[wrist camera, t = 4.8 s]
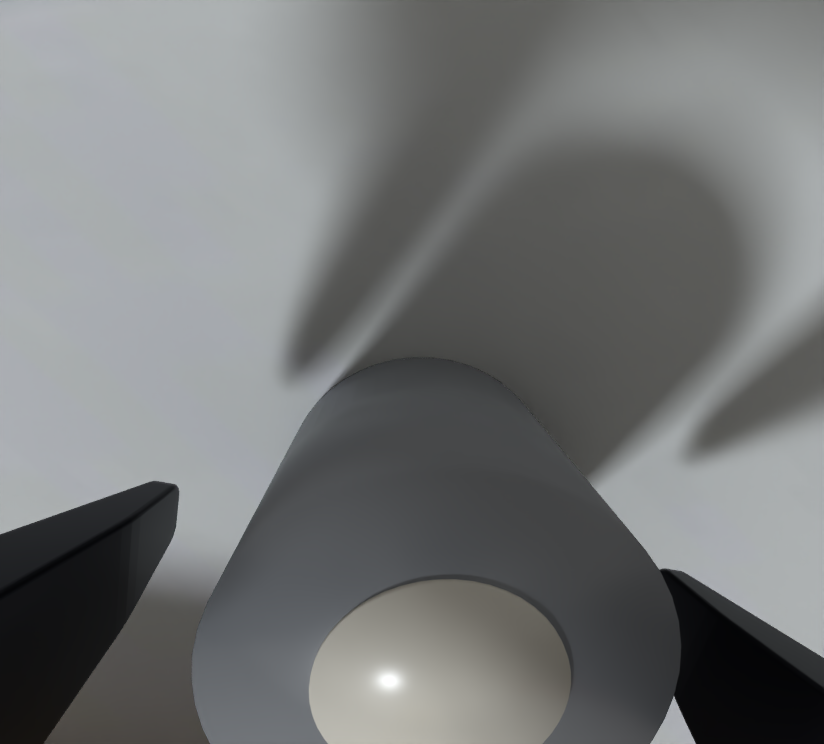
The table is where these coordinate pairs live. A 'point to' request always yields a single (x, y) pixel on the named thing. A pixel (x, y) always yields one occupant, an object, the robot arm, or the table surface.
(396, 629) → the grey short round piece
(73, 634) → the robot arm
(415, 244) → the table surface
